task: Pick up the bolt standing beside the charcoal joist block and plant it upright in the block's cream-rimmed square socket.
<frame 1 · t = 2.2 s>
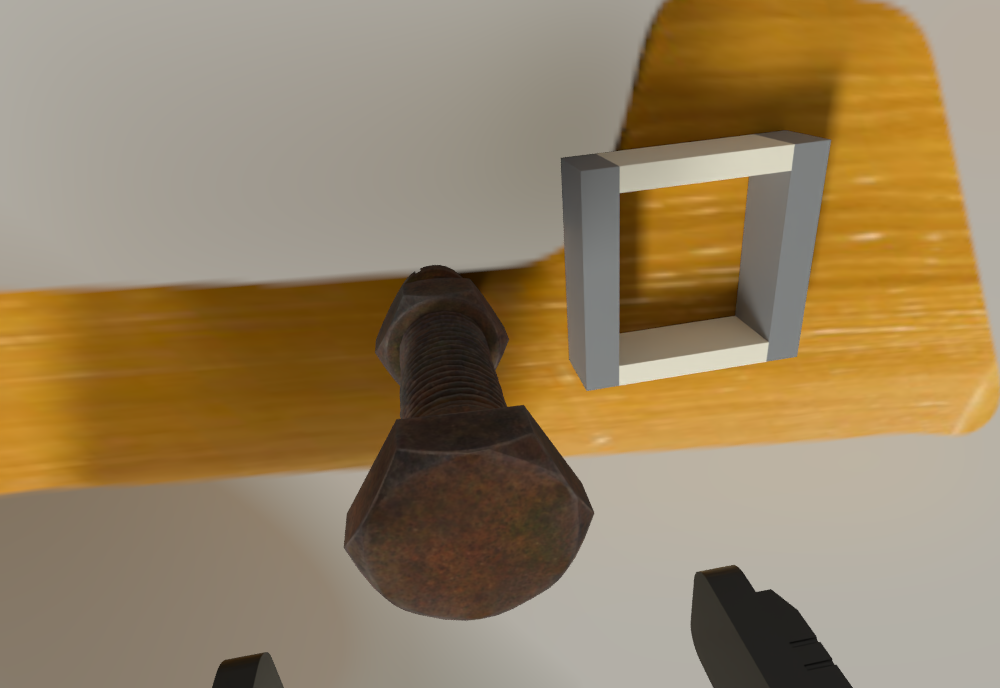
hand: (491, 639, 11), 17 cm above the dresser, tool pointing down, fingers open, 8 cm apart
joist block: (670, 252, 27), on the dresser
bolt: (434, 294, 27), on the dresser
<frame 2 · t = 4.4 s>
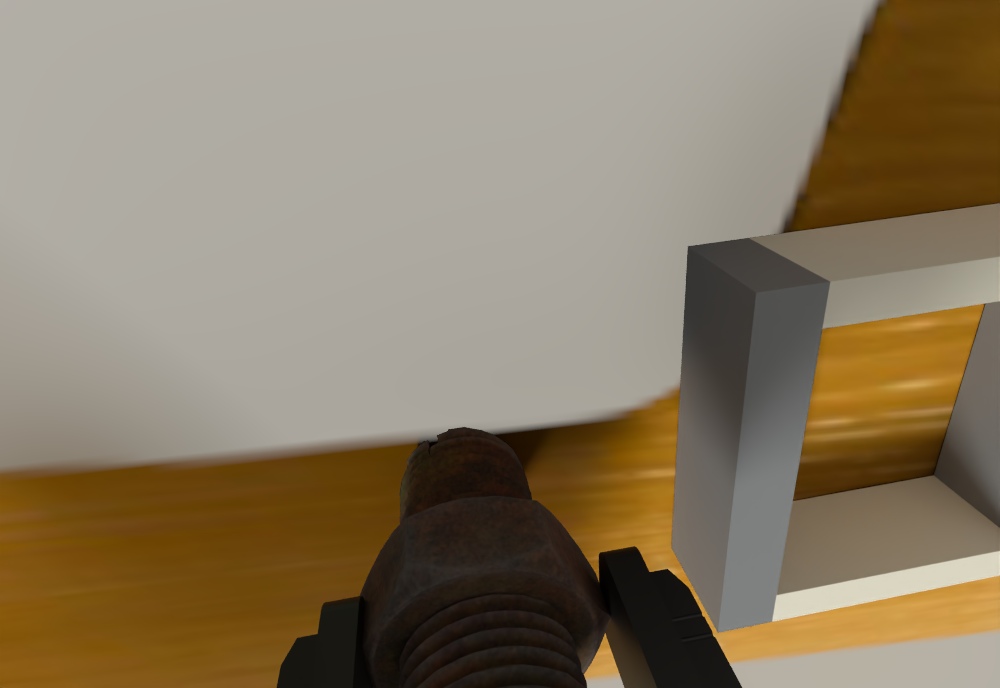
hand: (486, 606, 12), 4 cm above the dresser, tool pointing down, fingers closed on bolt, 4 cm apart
joist block: (850, 388, 17), on the dresser
bolt: (460, 464, 16), on the dresser, touching gripper
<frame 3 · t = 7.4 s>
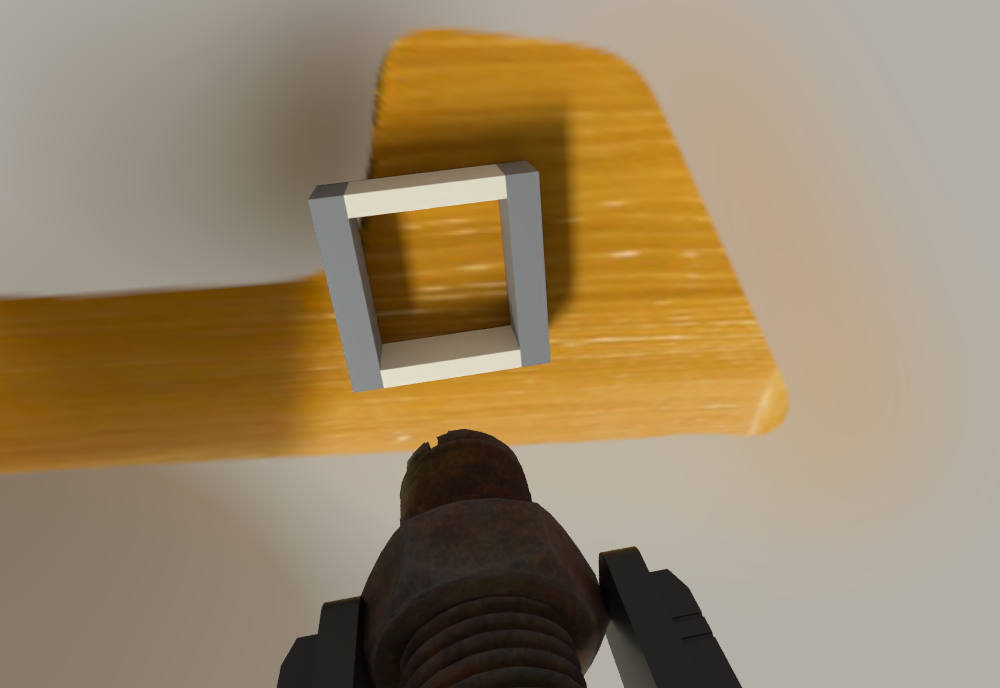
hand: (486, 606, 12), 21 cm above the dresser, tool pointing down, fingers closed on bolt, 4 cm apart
joist block: (437, 268, 31), on the dresser
bolt: (460, 466, 16), point 16 cm above the dresser, touching gripper
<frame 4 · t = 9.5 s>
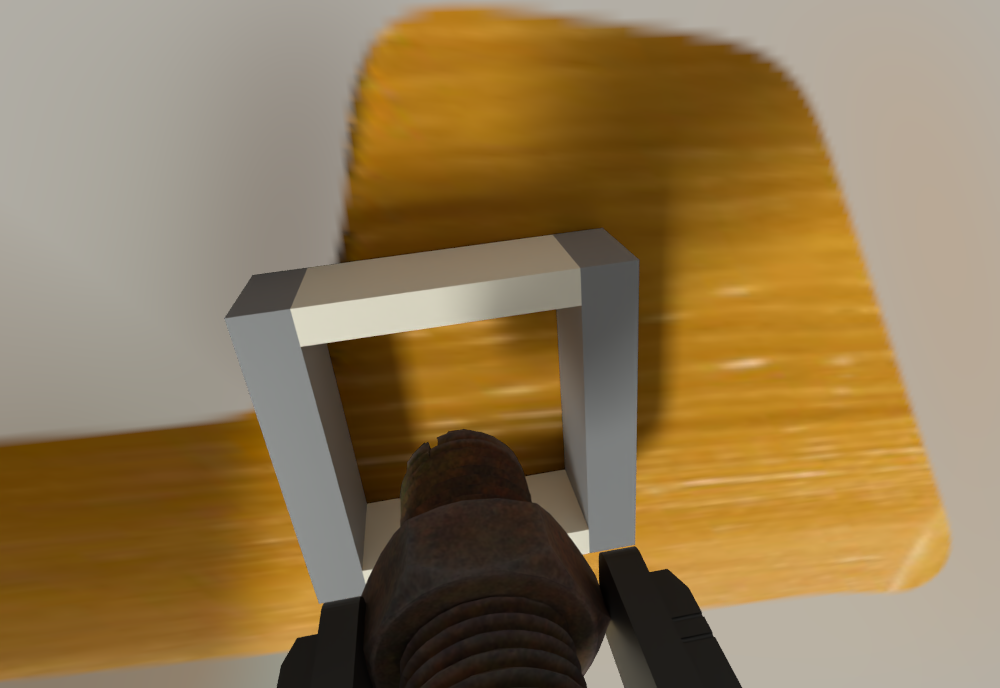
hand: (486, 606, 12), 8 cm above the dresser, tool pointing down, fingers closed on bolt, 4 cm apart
joist block: (453, 394, 19), on the dresser
bolt: (460, 466, 16), point 4 cm above the dresser, touching gripper
when the fingers open (6 cm above the dresser, at t = 10.9 s): bolt drops 1 cm, resting in joist block.
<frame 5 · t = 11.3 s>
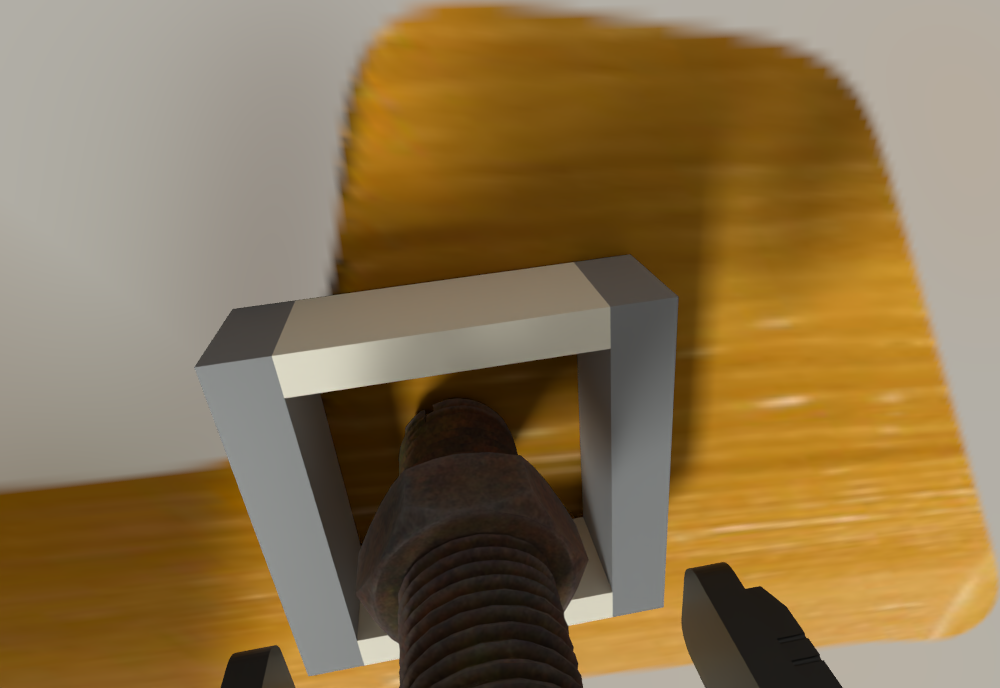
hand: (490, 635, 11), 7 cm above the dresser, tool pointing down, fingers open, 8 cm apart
joist block: (460, 437, 17), on the dresser
bolt: (454, 434, 17), resting in joist block
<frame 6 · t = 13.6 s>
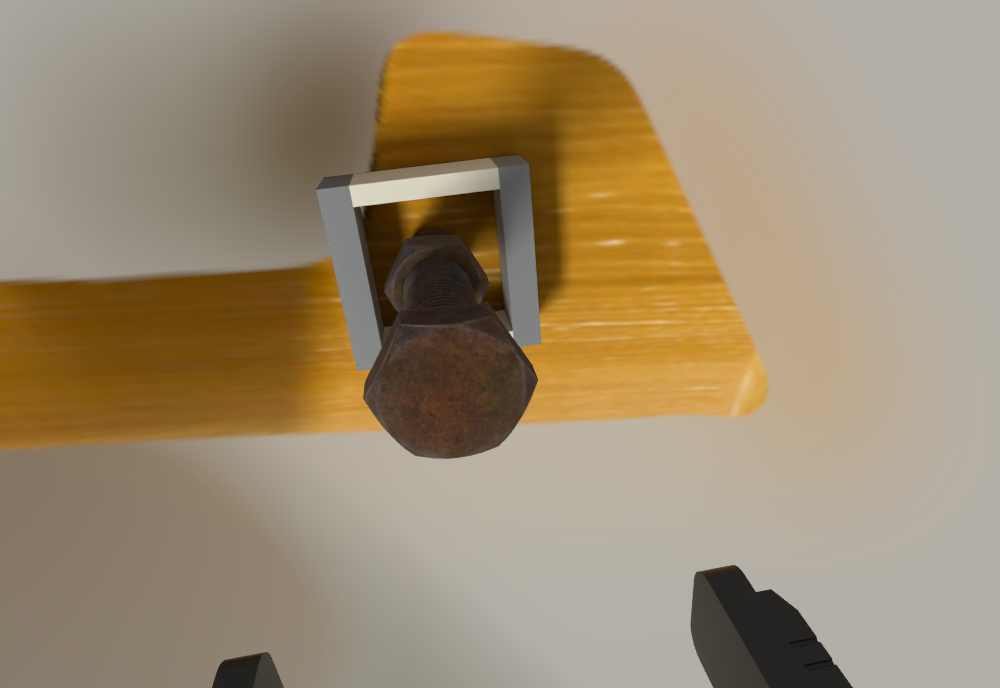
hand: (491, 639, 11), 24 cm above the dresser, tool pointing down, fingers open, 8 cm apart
joist block: (435, 255, 33), on the dresser
bolt: (432, 254, 33), resting in joist block
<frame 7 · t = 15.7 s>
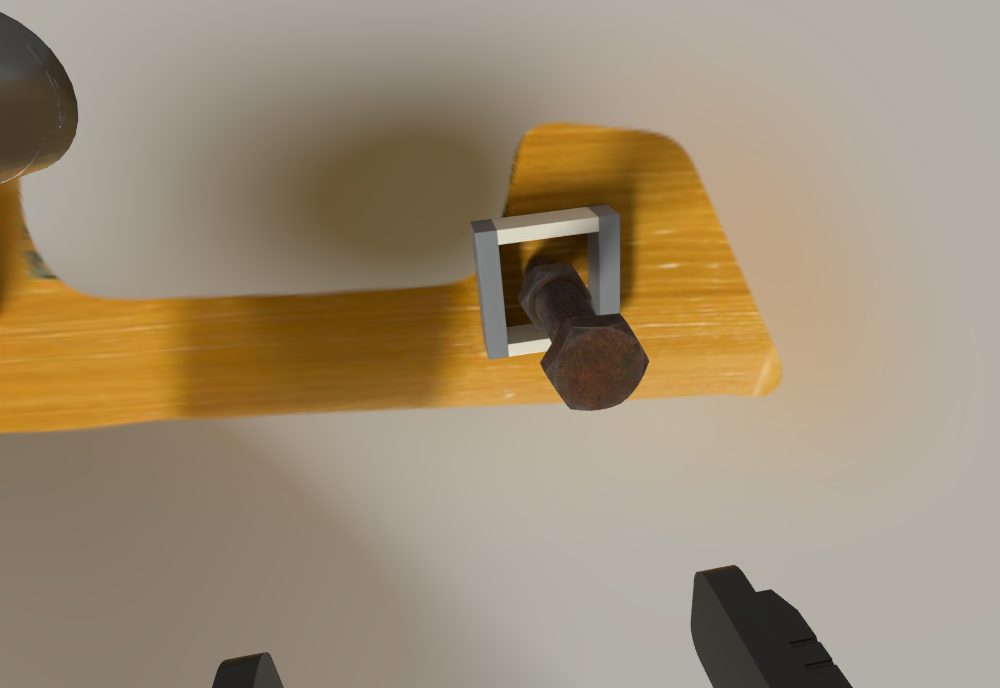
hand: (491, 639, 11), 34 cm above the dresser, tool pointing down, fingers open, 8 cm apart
joist block: (542, 275, 45), on the dresser
bolt: (540, 274, 45), resting in joist block
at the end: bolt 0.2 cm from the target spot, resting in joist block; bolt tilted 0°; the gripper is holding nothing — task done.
